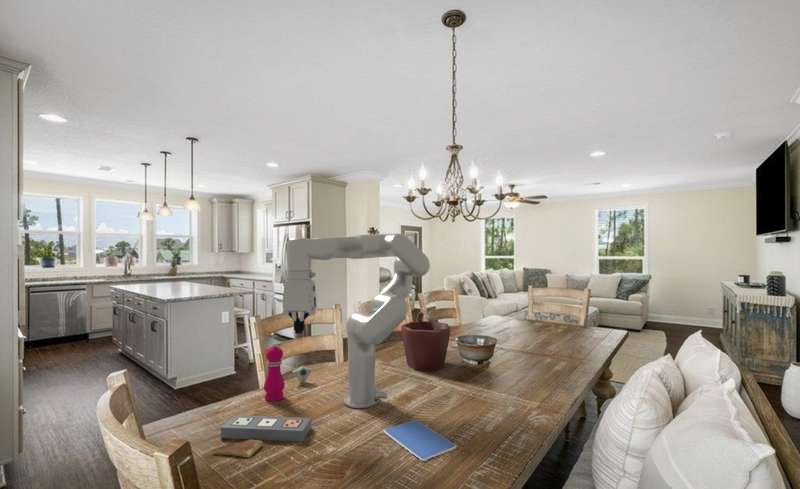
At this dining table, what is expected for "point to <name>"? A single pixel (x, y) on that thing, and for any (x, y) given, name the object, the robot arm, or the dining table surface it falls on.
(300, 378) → the pig figurine
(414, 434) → the tablet computer
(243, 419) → the key two pips
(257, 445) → the shard
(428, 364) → the bucket
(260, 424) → the key one pip
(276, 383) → the pepper mill
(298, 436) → the key panel
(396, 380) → the dining table surface
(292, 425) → the key three pips
